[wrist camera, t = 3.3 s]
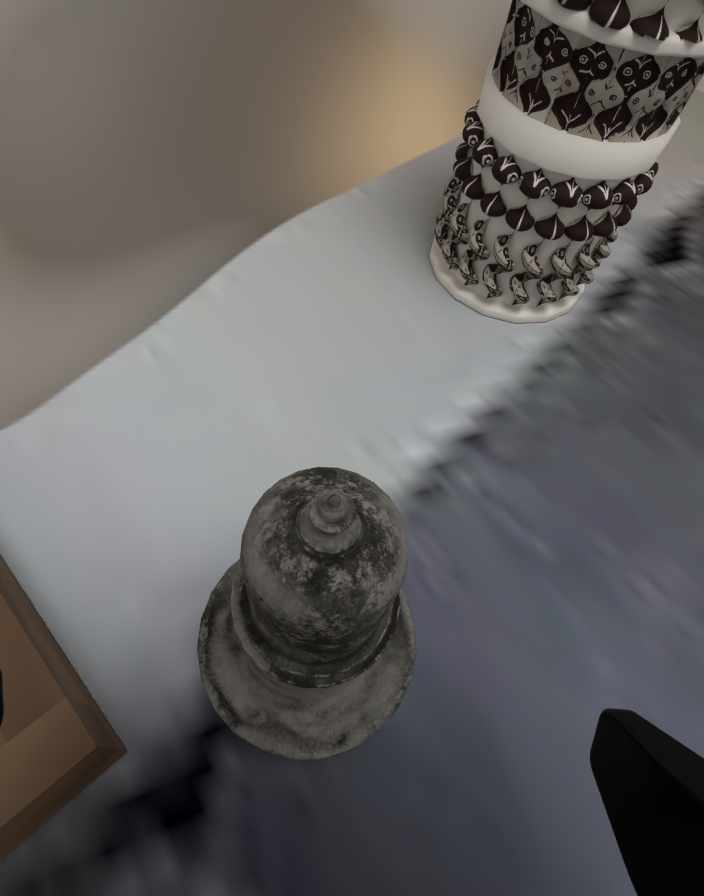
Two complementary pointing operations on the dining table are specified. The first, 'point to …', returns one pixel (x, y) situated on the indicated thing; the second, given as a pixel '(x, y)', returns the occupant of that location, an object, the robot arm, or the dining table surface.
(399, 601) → the stone chess piece
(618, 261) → the dining table surface
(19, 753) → the walnut tray
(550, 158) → the decorative candle
